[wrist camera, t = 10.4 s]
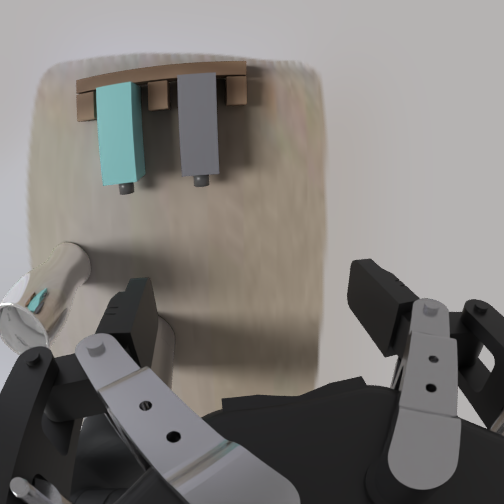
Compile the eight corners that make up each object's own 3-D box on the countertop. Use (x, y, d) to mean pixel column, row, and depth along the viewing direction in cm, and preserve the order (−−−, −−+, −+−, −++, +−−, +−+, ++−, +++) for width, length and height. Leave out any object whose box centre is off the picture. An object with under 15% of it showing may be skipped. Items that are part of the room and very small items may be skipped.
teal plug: (147, 186, 34) (138, 196, 29) (117, 189, 33) (105, 200, 29) (141, 87, 29) (130, 81, 24) (110, 91, 29) (96, 87, 24)
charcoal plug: (217, 179, 35) (219, 188, 30) (186, 182, 34) (183, 191, 30) (214, 79, 30) (215, 72, 25) (181, 81, 29) (177, 75, 25)
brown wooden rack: (243, 105, 31) (246, 103, 29) (85, 121, 29) (77, 121, 27) (243, 65, 30) (246, 61, 27) (84, 82, 27) (76, 80, 25)
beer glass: (58, 290, 37) (12, 361, 23) (42, 243, 34) (-19, 304, 20) (101, 283, 37) (62, 360, 24) (85, 234, 34) (31, 297, 21)
